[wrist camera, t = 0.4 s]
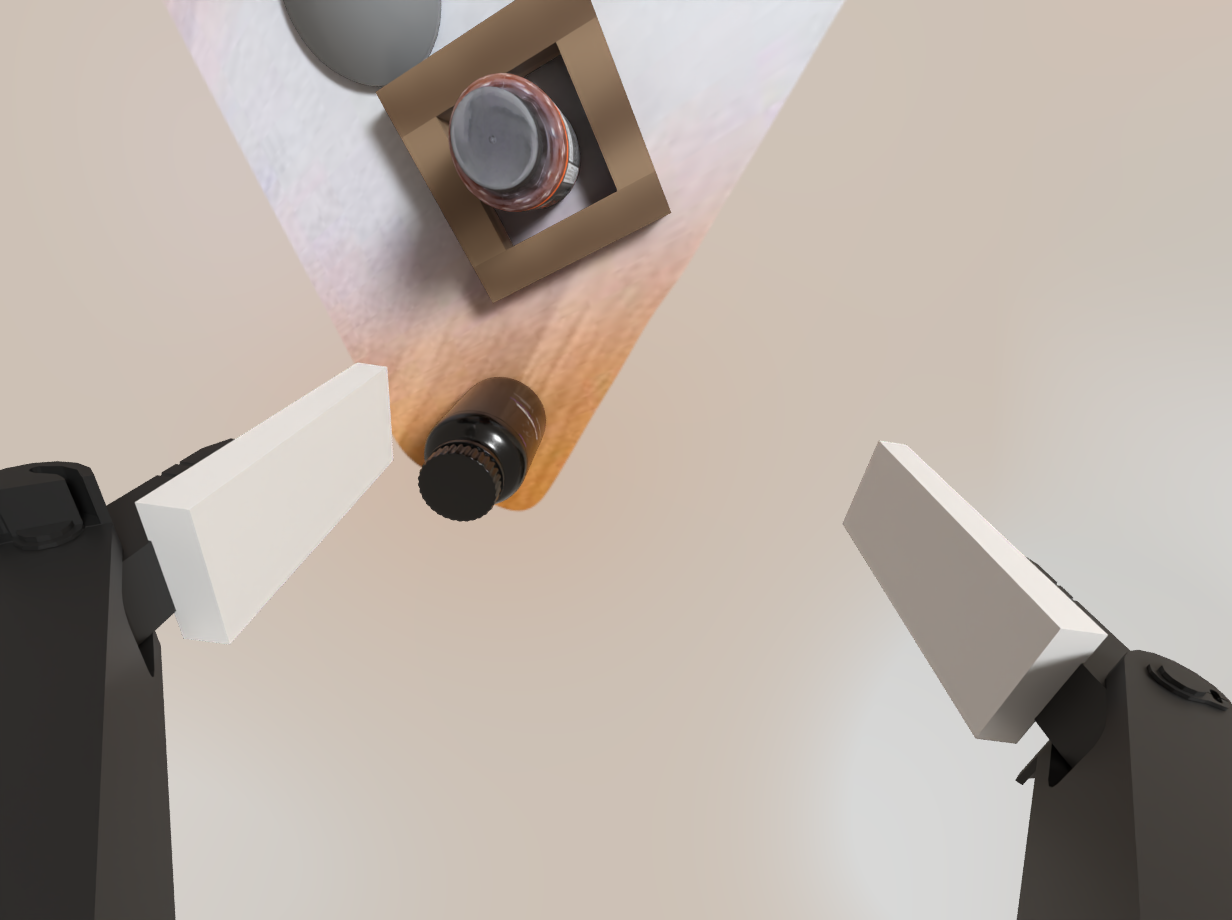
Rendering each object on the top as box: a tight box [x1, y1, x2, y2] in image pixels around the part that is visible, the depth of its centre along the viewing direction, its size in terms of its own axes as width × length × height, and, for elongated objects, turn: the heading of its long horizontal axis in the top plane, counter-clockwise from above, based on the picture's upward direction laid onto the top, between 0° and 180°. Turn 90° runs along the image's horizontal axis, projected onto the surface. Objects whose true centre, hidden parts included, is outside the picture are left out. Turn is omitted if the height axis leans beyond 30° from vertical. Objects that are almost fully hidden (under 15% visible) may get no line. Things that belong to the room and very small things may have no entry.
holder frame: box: [376, 0, 671, 303], centre depth 32 cm, size 13×13×2 cm
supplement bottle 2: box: [418, 377, 546, 521], centre depth 36 cm, size 7×7×12 cm
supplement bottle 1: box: [448, 73, 580, 212], centre depth 28 cm, size 6×6×11 cm
